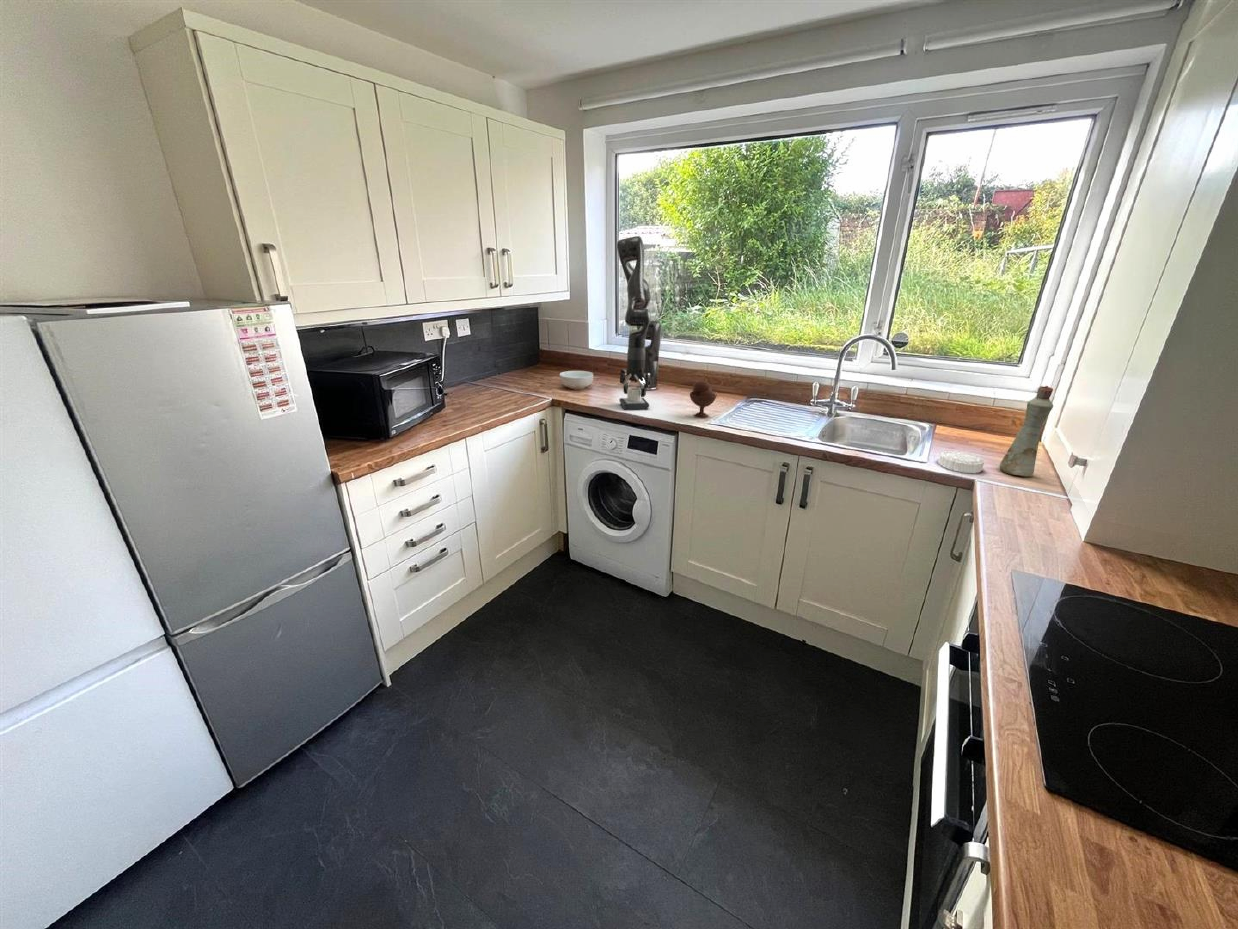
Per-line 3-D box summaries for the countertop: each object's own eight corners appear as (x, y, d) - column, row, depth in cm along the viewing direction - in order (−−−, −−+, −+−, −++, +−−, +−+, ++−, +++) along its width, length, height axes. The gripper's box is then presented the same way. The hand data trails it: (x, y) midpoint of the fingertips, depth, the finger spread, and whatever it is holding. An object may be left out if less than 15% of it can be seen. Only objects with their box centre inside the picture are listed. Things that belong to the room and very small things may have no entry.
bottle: (1003, 475, 155) (1033, 386, 144) (994, 465, 163) (1022, 381, 152) (1036, 480, 152) (1070, 390, 142) (1026, 470, 160) (1057, 384, 150)
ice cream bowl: (716, 420, 202) (720, 383, 197) (689, 419, 202) (692, 382, 197) (712, 413, 212) (716, 378, 207) (686, 412, 212) (689, 377, 207)
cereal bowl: (564, 383, 258) (564, 369, 255) (595, 385, 256) (596, 371, 253) (555, 390, 242) (555, 375, 239) (589, 392, 240) (589, 378, 237)
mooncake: (985, 476, 154) (988, 465, 152) (940, 469, 158) (943, 458, 157) (977, 463, 164) (980, 453, 163) (935, 457, 168) (938, 447, 167)
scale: (619, 403, 222) (619, 398, 221) (643, 403, 224) (643, 397, 223) (624, 410, 212) (624, 404, 211) (648, 409, 214) (649, 404, 213)
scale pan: (623, 401, 220) (623, 398, 220) (640, 401, 222) (640, 397, 221) (626, 406, 213) (627, 402, 213) (645, 405, 215) (645, 402, 214)
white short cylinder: (625, 398, 219) (626, 387, 217) (639, 398, 220) (639, 387, 219) (628, 402, 214) (629, 390, 212) (642, 401, 215) (643, 390, 213)
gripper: (617, 356, 211) (616, 394, 217) (645, 360, 204) (643, 399, 210) (626, 354, 217) (625, 391, 223) (655, 358, 209) (653, 396, 215)
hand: (634, 395), depth 216 cm, fingers open, 8 cm apart
